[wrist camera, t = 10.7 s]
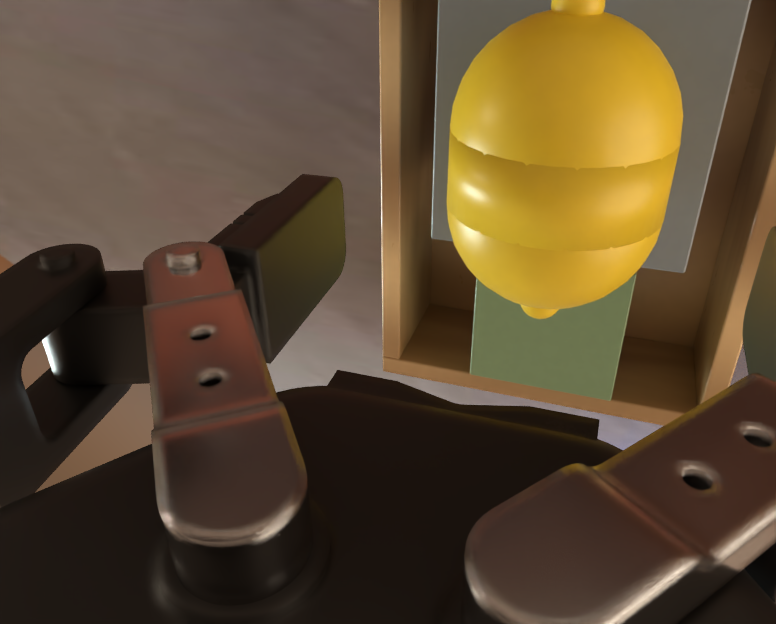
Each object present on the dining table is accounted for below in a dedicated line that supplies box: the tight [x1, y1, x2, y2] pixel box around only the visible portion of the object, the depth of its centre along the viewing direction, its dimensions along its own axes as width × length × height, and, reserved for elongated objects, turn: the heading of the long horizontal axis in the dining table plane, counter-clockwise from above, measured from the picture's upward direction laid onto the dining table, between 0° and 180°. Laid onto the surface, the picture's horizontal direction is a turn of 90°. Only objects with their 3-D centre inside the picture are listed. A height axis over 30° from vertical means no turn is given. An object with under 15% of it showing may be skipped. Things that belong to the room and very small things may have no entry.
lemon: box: [447, 0, 683, 319], centre depth 18 cm, size 9×6×6 cm, turn 179°
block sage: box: [470, 272, 637, 401], centre depth 29 cm, size 6×6×6 cm
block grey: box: [431, 0, 752, 273], centre depth 24 cm, size 8×8×8 cm
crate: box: [379, 0, 776, 426], centre depth 27 cm, size 18×14×6 cm
